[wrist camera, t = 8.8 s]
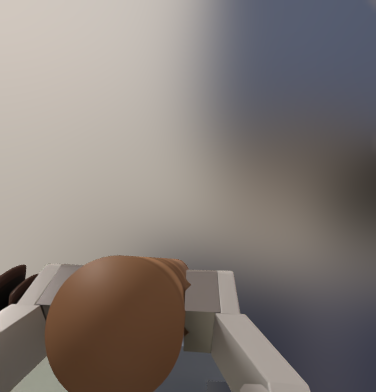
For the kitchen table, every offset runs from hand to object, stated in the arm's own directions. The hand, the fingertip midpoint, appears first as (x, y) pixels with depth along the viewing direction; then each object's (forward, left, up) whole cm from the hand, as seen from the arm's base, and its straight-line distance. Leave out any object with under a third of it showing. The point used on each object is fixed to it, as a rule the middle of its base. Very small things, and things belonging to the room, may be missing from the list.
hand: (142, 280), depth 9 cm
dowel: (+3, +7, -2) cm, 8 cm away
